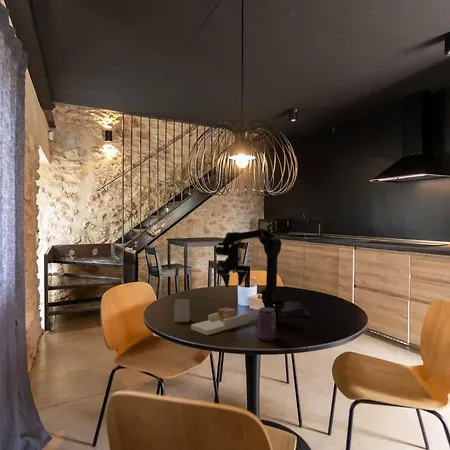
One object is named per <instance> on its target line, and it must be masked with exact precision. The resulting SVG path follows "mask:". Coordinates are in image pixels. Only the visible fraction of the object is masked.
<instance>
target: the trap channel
mask: <svg viewBox="0 0 450 450" xmlns="http://www.w3.org/2000/svg"><path fill="white" fill-rule="evenodd" d="M233 309H234V317H231V318H227V319H223V321H219V320H218V312H215V313H211V314H208V315H207V320H205V321H200V322H197V323H192V324H190V330H192V331H195V332H197V333H200V334H203V335H205V336H210V335H214V334H217V333H220V332H223V331H226V330H232V329H234V328H237V327H240V326H243V325H247V324H250V321H251V317H250V316H251V314H250V313H249V312H247V313H242V314H239V315H236V314H235V313H236V312H235V308H233Z"/></svg>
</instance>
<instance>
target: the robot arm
mask: <svg viewBox="0 0 450 450" xmlns="http://www.w3.org/2000/svg"><path fill="white" fill-rule="evenodd" d="M255 238H258V240H259V243H261V245H263V251H264V253H265V255H266V276H265V277H266V284H265V288H264V289H262V290H261V298H260V299H261V301H262V304H263V306H264V307H269V308H274V309H275V313H276V326H277V325H280V324H283V323H285V321H284V320H283V319H282V318H283V315H282V310H281V309H283V308H284V306H285V304H284V303H285V302H284V301H283V300H282V299H281V295H280V290H279V289H278V286H277V284H278V257H279V254H280V253H281V250H282V240H281V239H280V238H279V237H276V236H275V235H274V234H273V233H270V232H269V231H268V230H266V229H265V228H256V229H253V230H252V229H251V230H248V231H246V230H245V231H241V232H240V231H239V232H238V231H234V232H233V231H232V232H229V231H228V232H227V233H226V235H225V236H224V238H223V240H222V242H217V245H216V247H215V254H216V255H217V256H226V258H225V260H224V261H223V260H218V261H217V267H218V268H216V274H217V275H219V276H220V277H222V280H223V282H224V286H225V288H228V287H229V284H230V277H231V274H230V273H231V272H235V273H236V274H237V281H238V286H242V282H243V280H244V278H245V277H246V275H247V274H248V272H249V271H250V267H249V265H246V264H241V265H240V262H239V261H241V257H240V256H239V249H240V248H243V247H242V245H241V244H240V243H241V242H243V241H244V240H249V239H255Z"/></svg>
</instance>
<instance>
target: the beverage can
mask: <svg viewBox="0 0 450 450" xmlns="http://www.w3.org/2000/svg"><path fill="white" fill-rule="evenodd" d="M258 310H259V311H258V313H257V338H258V339H260V340H261V341H266V342H267V341H268V342H269V341H273V340H275V339H276V338H277V337H276V335H277V334H276V333H277V331H276V330H277V325H276V313H275V309H274V308H269V307H259V309H258Z"/></svg>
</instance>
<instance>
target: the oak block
mask: <svg viewBox="0 0 450 450" xmlns="http://www.w3.org/2000/svg"><path fill="white" fill-rule="evenodd" d="M234 309H235V308H229V307H224V308H223V307H222V308H218V312H217V313H218V320H219V321H223V319H227V318H231V317H234Z"/></svg>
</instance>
